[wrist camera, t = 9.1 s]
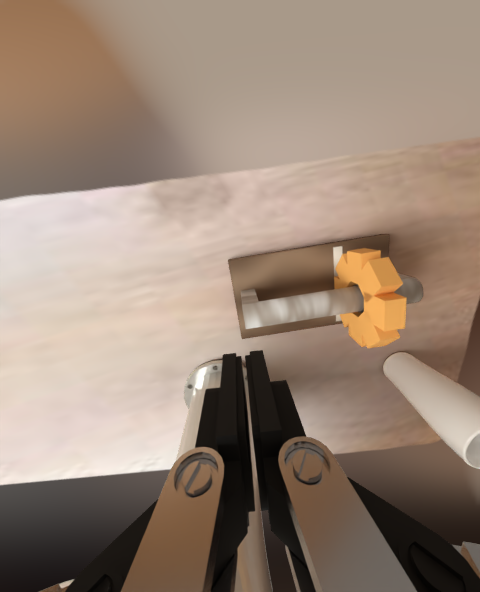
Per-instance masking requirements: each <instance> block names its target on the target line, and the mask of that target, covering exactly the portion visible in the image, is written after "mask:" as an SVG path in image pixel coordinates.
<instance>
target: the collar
mask: <svg viewBox="0 0 480 592" xmlns="http://www.w3.org/2000/svg"><path fill="white" fill-rule="evenodd" d="M335 269H336V271H337V274H338V276H335V277H334V288H335V289H340V288H346V287H352V286H353V285H357V284H358V285H359V288H360V290H361V292H362V294H363V297H364V312H352V313H346V314H340V317H341V320H342V322H343V325H344V327H349V335H350V336H351V337H352V338H353V339H354V340H355V341H356V342H357V343H358V344H359V345H360V346H361V347H364V346H367V348H374V347H380V346H386V345H388V344H389V343H391V342H393V341H395V340H397V339H398V338H400V335H399V333H398V331H397V329H403V328H405V318H406V300H407V298H406V297H403V296H401V295H398V294H396V293H394V292H395V291H396V290H397V289H398V288H399V287H400V286H401V285H402V284H403V282H402V280H401V278H400V277H399V275H398V273H397V271H396V270H395V268H394V266H393V264H392V262H391V261H390V259H389V257H385V258H381V251H380V250H373V249H367V248H362V249H356V250H350V251H347V253H346V254H342V256H341V258H340V260H339V262H338V264H337V266H336V268H335Z"/></svg>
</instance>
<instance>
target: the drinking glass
mask: <svg viewBox="0 0 480 592" xmlns="http://www.w3.org/2000/svg"><path fill="white" fill-rule="evenodd" d="M383 371H384V374H385V376H386V377H387V378H388V379H389V380H390V381H391V382H392V383H393V384H394V385H395V386H396V387H397V388H398V390H399V391H400V392H401V393H402V394H403V395H404V397H405V398H406V399H407V400H408V401H409V402H410V404H411V405H412V406H413V407H414V408H415V409H416V411H417V412H418V413H419V414H420V415H421V416H422V418H423V419H424V420H425V421H426V422H427V423H428V425H429V426H430V427H431V428H432V429H433V430H434V431H435V433H436V434H437V435H438V436H439V437H440V438H441V439H442V440H443V441H444V442H445V443H446V444H447V445H448V446H449V447H450V448H452V450H453V451H454V452H455V453H456V454H457V455H459V456H460V457H461V458H462V459H463V460H464V461H465V462H466V463H467V464H468V465H470V466H471V467H474V468H477V469H480V397H479V396H478V395H476V394H475V393H473V392H472V391H470V390H468V389H467V388H465V387H463V386H461V385H460V384H458V383H456V382H455V381H453V380H451V379H450V378H448V377H446V376H444V375H443V374H441V373H439V372H438V371H436V370H434V369H433V368H431V367H429V366H428V365H426V364H424V363H423V362H421V361H419V360H418V359H417V358H415V357H414V356H412V355H411V354H409V353H405V352H398V353H394V354H392V355H391V356H389V357H388V358H387V359H386V360H385V362H384V365H383Z"/></svg>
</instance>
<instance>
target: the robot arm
mask: <svg viewBox="0 0 480 592" xmlns="http://www.w3.org/2000/svg"><path fill="white" fill-rule="evenodd" d="M245 359H246V367H244V366H243V365H242V359H241V356H237V357H236V353H233V354H224V355H223V360H216V361H211V362H207V363H205V364H203V365H201V366H199V367H198V368H196V369H195V370H194V371H193V372H192V373H191V374H190V376H189V378H188V379H187V382H186V385H185V389H184V399H185V403H186V405H187V407H188V409H189V411H188V415H187V419H186V423H185V427H184V431H183V435H182V439H181V443H180V447H179V450H178V454H177V458H176V462H175V463H174V465H173V467H172V468H171V470H170V472H169V475H168V477H167V480H166V482H165V485H164V487H163V489H162V492H161V494H160V497H159V499H158V500H157V501H156V502H154V503H153V504H152V505H151V506H150V507H149V508H148V509H147V510H146V511H145V512H144V513H143V514H142V515H141V516H140V517H139V518H138V519H137V520H136V521H134V522H133V523H132V524H131V525H130V526H129V527H128V528H127V529H126V530H125V531H124V532H123V533H122V534H121V535H120V536H119V537H118V538H116V539H115V540H114V541H113V542H112V543H111V544H110V545H109V546H108V547H107V548H106V549H105V550H104V551H103V552H102V553H101V554H100V555H99V556H98V557H97V558H95V559H94V560H93V561H92V562H91V563H90V564H89V565H88V566H87V567H86V568H85V569H84V570H83V571H82V572H81V573H80V574H79V575H78V576H77V577H76V578H75V579H74V580H70V581H67V582H63V583H61V584H57V585H54V586H52V587H49V588H47V589H45V590H42V591H40V592H273V591H272V585H271V579H270V574H269V568H268V562H267V555H266V548H265V541H264V534H263V525H262V516H261V511H264V510H268V513H269V521H270V525H271V531H272V532H274V534H275V535H276V536H277V537H278V538H279V539H280V540H281V541H282V542H283V543H284V544H285V547H286V553H287V556H288V560H289V563H290V567H291V571H292V574H293V578H294V582H295V585H296V589H297V592H480V545H479V544H474V543H468V542H463V544H462V547H460V546H455V545H451V544H450V543H448V542H447V541H446V540H444V539H443V538H442V537H441V536H439V535H438V534H436V533H435V532H433V531H432V530H430V529H428V528H427V527H425V526H424V525H422V524H421V523H419V522H417V521H416V520H414V519H412V518H411V517H410V516H408V515H406V514H405V513H403V512H402V511H400V510H399V509H397V508H395V507H394V506H392V505H391V504H389V503H388V502H386V501H384V500H383V499H381V498H380V497H378V496H376V495H375V494H373V493H372V492H370V491H369V490H367V489H366V488H364V487H362V486H361V485H359V484H358V483H356V482H355V481H353V480H351V479H350V478H348V477H347V476H346V475H345V473H344V472H343V470H342V468H341V467H340V465H339V464H338V462H337V460H336V459H335V457H334V455H333V454H332V453H331V451H330V450H329V449H328V448H327V447H326V446H325V445H324V444H323V443H321V442H320V441H318V440H316V439H313V438H310V437H306V435H305V432H304V429H303V426H302V423H301V421H300V418H299V415H298V412H297V409H296V406H295V404H294V401H293V398H292V395H291V392H290V389H289V387H288V384H287V381H286V380H283V381H274V382H270V379H269V375H268V371H267V367H266V363H265V359H264V355H263V351H262V350H261V351H251V352H250V355H247V356H245Z"/></svg>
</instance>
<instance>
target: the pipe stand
mask: <svg viewBox="0 0 480 592" xmlns="http://www.w3.org/2000/svg"><path fill="white" fill-rule="evenodd" d="M362 248H367V249H373V250H380V251H381V258H385V257H389V234H380V235H374V236H368V237H362V238H356V239H350V240H344V241H338V242H332V243H326V244H320V245H314V246H308V247H302V248H296V249H290V250H284V251H278V252H271V253H265V254H259V255H253V256H247V257H241V258H235V259H229V260H228V263H229V269H230V274H231V280H232V286H233V291H234V297H235V303H236V308H237V314H238V320H239V325H240V331H241V337H242V339H245V338H251V337H258V336H264V335H270V334H277V333H283V332H290V331H296V330H302V329H309V328H315V327H322V326H328V325H334V324H341V323H343V322H342V320H341V317H340V314H346V313H352V312H364V297H363V294H362V292H361V290H360V288H359V285H358V284H357V285H353V286H352V287H346V288H340V289H335V288H334V277H335V276H338V274H337V271H336V269H335V268H336V266H337V264H338V262H339V260H340V258H341V256H342V254H346V253H347V251H350V250H356V249H362ZM398 275H399V277H400V278H401V280H402V282H403V284H402V285H401V286H400V287H399V288H398V289H397V290H396V291H395V292H394V293H396V294H398V295H401V296H403V297H406V298H407V300H406V304H409V303H415V302H419V301H420V300H421V299H422V297H423V287H422V284H421V283H420V281H419V280H418V279H416V278H414V277H411V276H407V275H403V274H400V273H398Z"/></svg>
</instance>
